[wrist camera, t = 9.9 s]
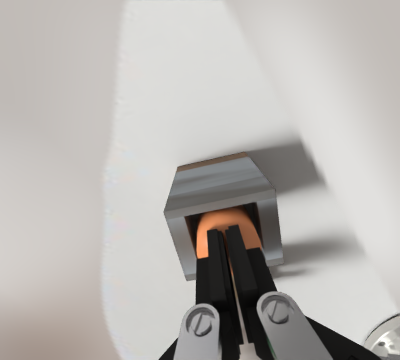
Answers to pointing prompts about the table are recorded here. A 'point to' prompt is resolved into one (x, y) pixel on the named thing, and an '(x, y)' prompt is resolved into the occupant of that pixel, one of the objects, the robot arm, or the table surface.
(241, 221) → the button
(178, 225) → the stand
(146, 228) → the table surface
